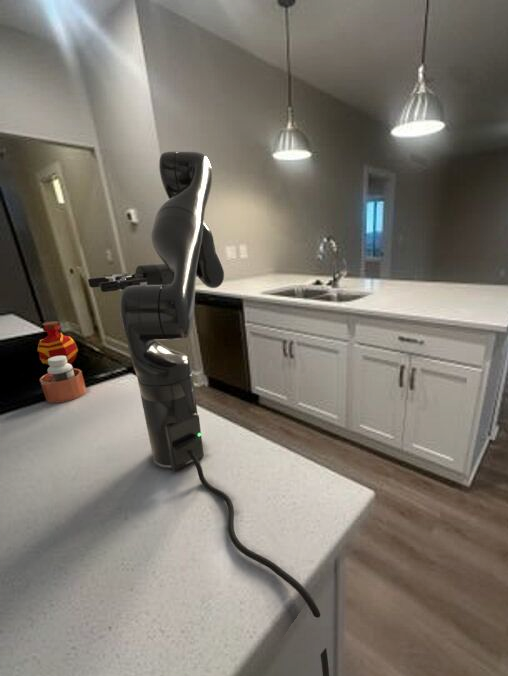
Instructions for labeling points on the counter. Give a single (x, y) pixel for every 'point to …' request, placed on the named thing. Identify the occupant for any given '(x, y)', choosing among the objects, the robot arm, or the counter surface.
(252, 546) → the counter surface
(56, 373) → the pill bottle
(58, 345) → the potion bottle
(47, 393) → the pot
